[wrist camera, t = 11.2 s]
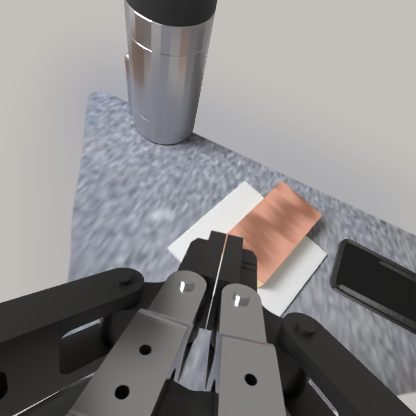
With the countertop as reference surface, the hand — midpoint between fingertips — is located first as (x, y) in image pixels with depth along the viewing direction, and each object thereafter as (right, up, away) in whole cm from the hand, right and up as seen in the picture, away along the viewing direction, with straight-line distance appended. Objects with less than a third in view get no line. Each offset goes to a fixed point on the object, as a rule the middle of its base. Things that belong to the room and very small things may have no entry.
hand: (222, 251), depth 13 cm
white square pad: (+5, -4, +23) cm, 24 cm away
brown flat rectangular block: (+3, -5, +21) cm, 21 cm away
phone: (+23, -9, +25) cm, 35 cm away
